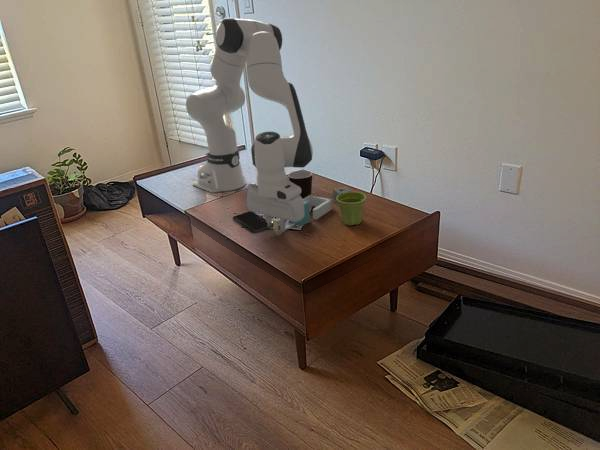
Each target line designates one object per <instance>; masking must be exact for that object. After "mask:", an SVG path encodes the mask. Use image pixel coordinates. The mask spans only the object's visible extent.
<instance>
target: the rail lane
mask: <svg viewBox="0 0 600 450" xmlns="http://www.w3.org/2000/svg"><path fill="white" fill-rule="evenodd" d="M303 200H304V201H307V202H309V206H310V207H314V206H315V207H314V208H313V209H312V219H313V220H318V219H320V218H321V217H322V216H325V214H327V213H329V212H330V211H332V210H333V198H332V199H330V198H325V197H321V196H318V195H317V196H316V195H312V194H311V195H309V196H307V197H305V198H304V199H303ZM311 205H312V206H311Z"/></svg>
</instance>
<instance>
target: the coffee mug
mask: <svg viewBox="0 0 600 450" xmlns="http://www.w3.org/2000/svg"><path fill="white" fill-rule="evenodd" d="M288 180H289V181H291V182H292V183H294V184H295V185H297V186H299V187H300V188H301V194H299V195H300V196H301V197H302V199H304V198H305V197H307V196H309V195H312V190H313V189H312V185H313V172H312V171H310V170H307V169H306V170H305V169H302V170H295V171H291V172H289V173H288Z"/></svg>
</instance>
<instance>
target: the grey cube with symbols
mask: <svg viewBox="0 0 600 450" xmlns="http://www.w3.org/2000/svg"><path fill="white" fill-rule="evenodd" d="M345 192H353V190H352V189H350V188H349V187H348V186H346V185H345V186H342V187H341V186H339V187H336V188H332V197H333V198H332V203H334V204H336V206H338V207H339V208H340V206H339V204H338V201H337V199H336V197H337V196H338V195H339V194H342V193H345Z"/></svg>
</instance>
